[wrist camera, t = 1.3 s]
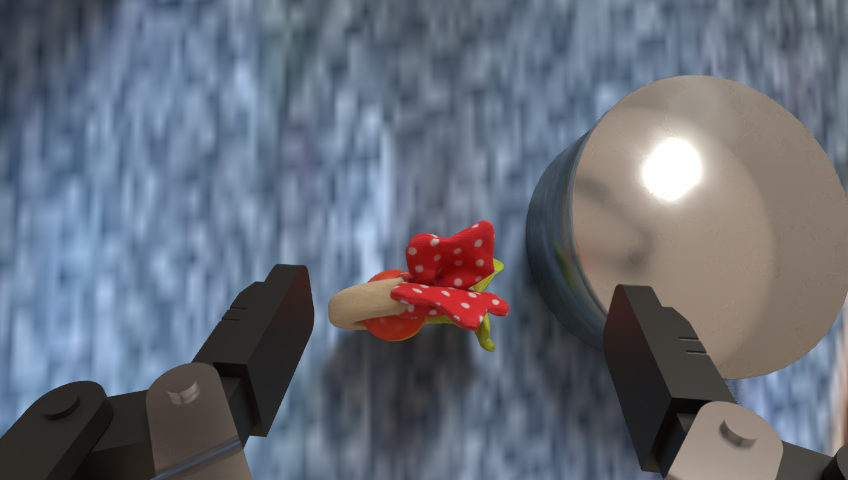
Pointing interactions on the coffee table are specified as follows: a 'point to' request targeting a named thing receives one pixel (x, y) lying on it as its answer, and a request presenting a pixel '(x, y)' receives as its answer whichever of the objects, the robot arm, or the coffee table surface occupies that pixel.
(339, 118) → the coffee table surface
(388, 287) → the bird rattle
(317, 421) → the coffee table surface
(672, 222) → the biscuit tin
